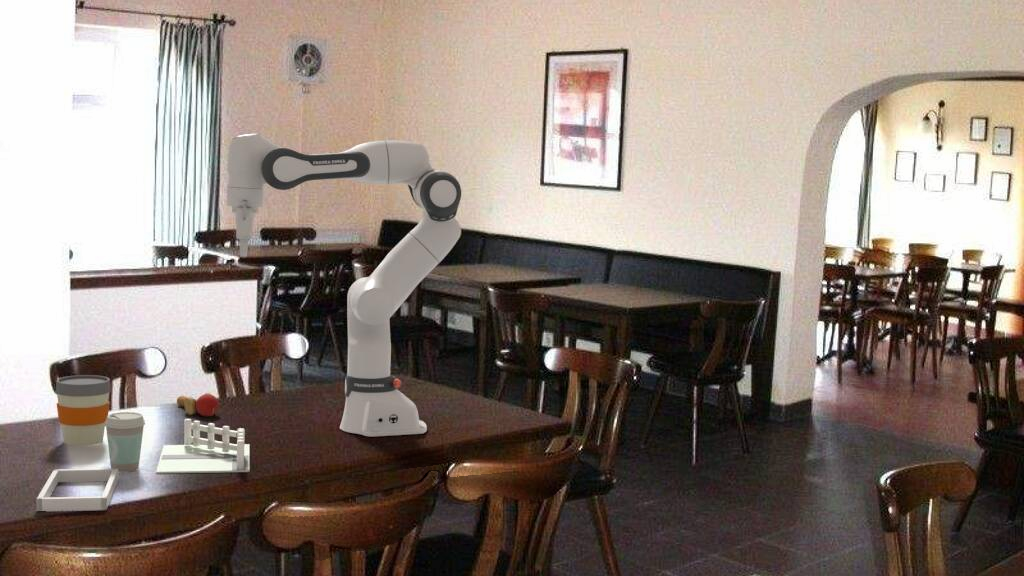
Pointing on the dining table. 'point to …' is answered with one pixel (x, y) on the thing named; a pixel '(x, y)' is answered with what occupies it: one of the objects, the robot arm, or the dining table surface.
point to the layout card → (199, 459)
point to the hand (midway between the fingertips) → (243, 254)
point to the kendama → (200, 404)
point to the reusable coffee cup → (83, 408)
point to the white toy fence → (209, 435)
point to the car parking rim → (77, 503)
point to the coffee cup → (124, 440)
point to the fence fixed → (240, 449)
